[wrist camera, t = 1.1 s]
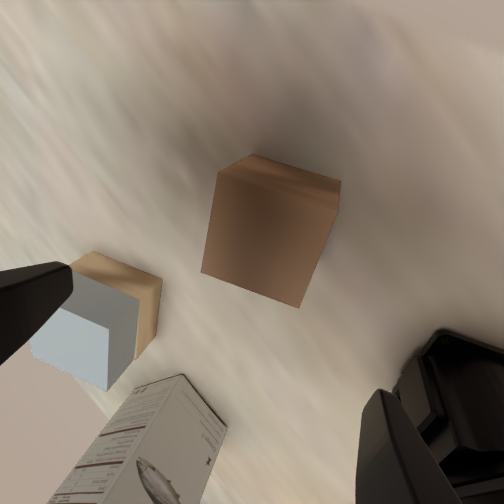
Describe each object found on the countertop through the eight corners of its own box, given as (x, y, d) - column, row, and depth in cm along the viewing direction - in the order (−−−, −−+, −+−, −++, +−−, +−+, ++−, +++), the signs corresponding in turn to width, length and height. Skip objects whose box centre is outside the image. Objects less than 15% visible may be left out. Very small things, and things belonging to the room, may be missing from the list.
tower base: (164, 277, 22) (140, 300, 20) (157, 333, 25) (136, 360, 23) (94, 250, 23) (63, 268, 21) (96, 307, 26) (68, 330, 24)
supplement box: (230, 428, 28) (155, 636, 17) (175, 437, 31) (83, 616, 20) (184, 370, 26) (66, 562, 15) (131, 386, 30) (4, 553, 19)
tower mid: (140, 299, 20) (109, 329, 17) (134, 359, 23) (107, 391, 20) (62, 266, 21) (21, 290, 18) (66, 328, 24) (32, 356, 21)
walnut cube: (341, 181, 16) (337, 210, 12) (310, 259, 18) (298, 308, 14) (252, 154, 16) (217, 172, 12) (234, 233, 19) (200, 272, 15)
